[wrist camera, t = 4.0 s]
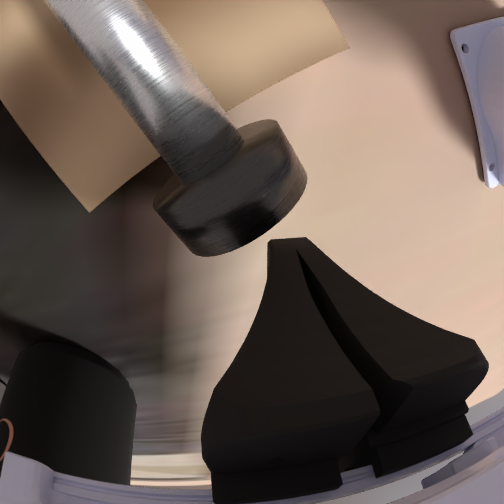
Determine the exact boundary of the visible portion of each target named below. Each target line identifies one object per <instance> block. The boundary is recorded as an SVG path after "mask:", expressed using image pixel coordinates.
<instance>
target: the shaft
mask: <svg viewBox="0 0 504 504" xmlns="http://www.w3.org/2000/svg"><path fill="white" fill-rule="evenodd" d="M44 2H45V3H46V5H47V6H48V7H49V9H50V10H51V11H52V13H53V14H54V15H55V17H56V18H57V19H58V21H59V22H60V24H61V25H62V26H63V28H64V29H65V30H66V32H67V33H68V34H69V36H70V37H71V38H72V40H73V41H74V42H75V44H76V45H77V46H78V48H79V49H80V50H81V52H82V53H83V54H84V56H85V57H86V58H87V60H88V61H89V62H90V64H91V65H92V66H93V68H94V69H95V70H96V72H97V73H98V74H99V76H100V77H101V78H102V80H103V81H104V82H105V83H106V85H107V86H108V87H109V89H110V90H111V91H112V93H113V94H114V95H115V97H116V98H117V99H118V101H119V102H120V103H121V105H122V106H123V107H124V108H125V110H126V111H127V112H128V114H129V115H130V116H131V118H132V119H133V120H134V121H135V123H136V124H137V125H138V127H139V128H140V129H141V131H142V132H143V133H144V134H145V136H146V137H147V138H148V140H149V141H150V142H151V144H152V145H153V146H154V147H155V149H156V150H157V151H158V153H159V154H160V155H161V156H162V158H163V159H164V160H165V162H166V163H167V164H168V165H169V167H170V168H171V169H172V171H173V172H174V174H173V175H172V176H171V177H170V178H169V179H168V180H167V182H166V183H165V184H164V185H163V186H162V188H161V189H160V191H159V192H158V194H157V195H156V197H155V199H154V203H153V208H154V209H155V211H156V212H157V213H158V214H159V215H160V216H161V218H162V219H163V220H164V221H165V222H166V223H167V225H168V226H169V227H170V228H171V229H172V230H173V232H174V233H175V234H176V235H177V236H178V237H179V238H180V240H181V241H182V242H183V243H184V244H185V245H186V246H187V248H188V249H189V250H190V251H191V252H192V253H193V254H195V255H198V256H203V257H210V256H217V255H221V254H225V253H228V252H231V251H233V250H236V249H238V248H240V247H242V246H244V245H246V244H248V243H250V242H252V241H253V240H255V239H257V238H258V237H260V236H261V235H263V234H264V233H266V232H267V231H268V230H270V229H271V228H272V227H274V226H275V225H276V224H277V223H278V222H280V221H281V220H282V219H283V218H284V217H285V216H286V215H287V214H288V213H289V212H290V211H291V210H292V208H293V207H294V206H295V205H296V203H297V202H298V201H299V199H300V197H301V196H302V194H303V192H304V190H305V187H306V184H307V173H306V171H305V169H304V168H303V166H302V164H301V162H300V160H299V159H298V157H297V155H296V153H295V152H294V150H293V148H292V146H291V145H290V143H289V141H288V139H287V138H286V136H285V134H284V133H283V131H282V129H281V128H280V126H279V124H278V123H277V121H275V120H261V121H257V122H254V123H251V124H248V125H245V126H243V127H241V128H239V129H236V128H235V126H234V125H233V123H232V122H231V120H230V119H229V117H228V116H227V114H226V113H225V111H224V110H223V108H222V107H221V106H220V104H219V103H218V101H217V100H216V98H215V97H214V95H213V94H212V92H211V91H210V90H209V88H208V87H207V85H206V84H205V83H204V81H203V80H202V78H201V77H200V75H199V74H198V73H197V71H196V70H195V68H194V67H193V66H192V64H191V63H190V62H189V60H188V59H187V57H186V56H185V55H184V53H183V52H182V51H181V49H180V48H179V47H178V45H177V44H176V42H175V41H174V40H173V38H172V37H171V36H170V34H169V33H168V32H167V30H166V29H165V28H164V27H163V25H162V24H161V23H160V21H159V20H158V19H157V17H156V16H155V15H154V14H153V12H152V11H151V10H150V8H149V7H148V6H147V5H146V3H145V2H144V1H143V0H44Z"/></svg>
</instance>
